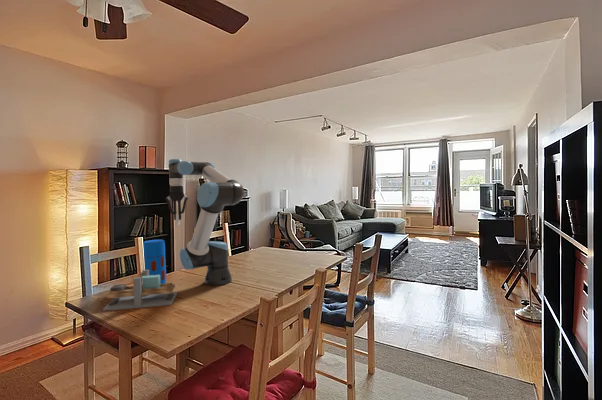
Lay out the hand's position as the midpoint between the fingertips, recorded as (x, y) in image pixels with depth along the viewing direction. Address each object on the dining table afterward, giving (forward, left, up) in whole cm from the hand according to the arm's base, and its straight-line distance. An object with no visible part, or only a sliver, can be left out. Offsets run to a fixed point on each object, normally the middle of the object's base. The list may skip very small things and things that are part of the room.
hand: (177, 225), depth 191 cm
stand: (+2, +37, -32) cm, 49 cm away
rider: (-2, +36, -26) cm, 45 cm away
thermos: (+9, +11, -33) cm, 36 cm away
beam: (+2, +37, -28) cm, 46 cm away
